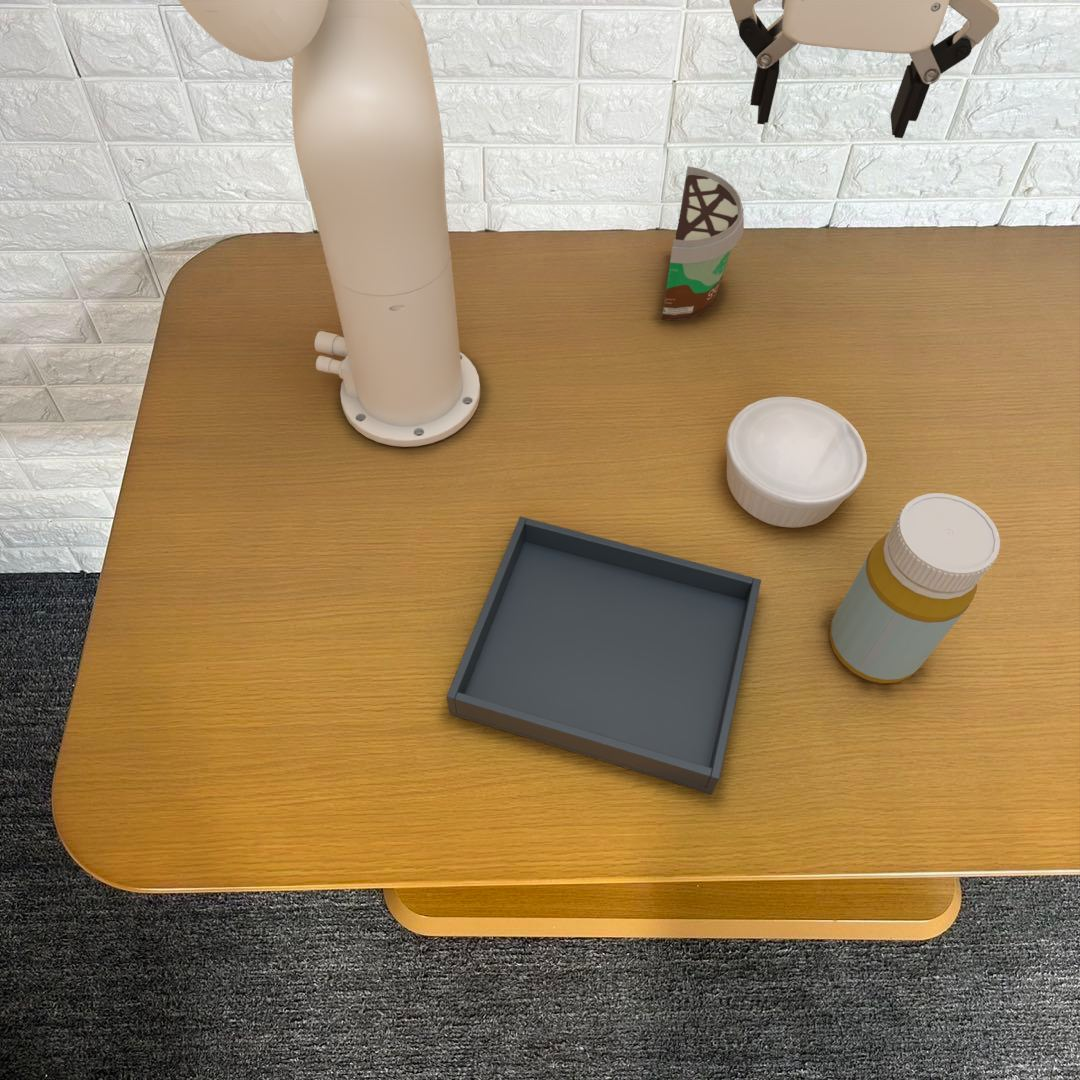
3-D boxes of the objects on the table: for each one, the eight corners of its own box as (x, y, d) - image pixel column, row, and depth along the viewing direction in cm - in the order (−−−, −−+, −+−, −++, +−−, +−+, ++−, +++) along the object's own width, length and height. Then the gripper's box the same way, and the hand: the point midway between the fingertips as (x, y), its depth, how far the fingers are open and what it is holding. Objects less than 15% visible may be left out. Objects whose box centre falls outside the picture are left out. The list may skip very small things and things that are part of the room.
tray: (449, 714, 65) (446, 696, 62) (520, 538, 73) (519, 515, 71) (711, 794, 62) (719, 779, 59) (753, 600, 70) (761, 579, 68)
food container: (723, 338, 87) (742, 252, 78) (659, 329, 87) (672, 243, 79) (733, 257, 93) (752, 170, 85) (674, 249, 94) (688, 162, 86)
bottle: (902, 703, 65) (989, 598, 53) (812, 657, 67) (875, 546, 55) (933, 632, 69) (1021, 517, 56) (846, 590, 71) (913, 471, 58)
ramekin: (860, 541, 73) (880, 503, 69) (723, 539, 73) (735, 501, 69) (836, 437, 80) (854, 396, 75) (710, 435, 80) (721, 394, 75)
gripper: (1056, -176, 53) (945, 104, 67) (760, -197, 54) (713, 82, 68) (1077, -125, 49) (954, 163, 63) (756, -148, 50) (706, 137, 64)
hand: (828, 120), depth 66 cm, fingers open, 9 cm apart
